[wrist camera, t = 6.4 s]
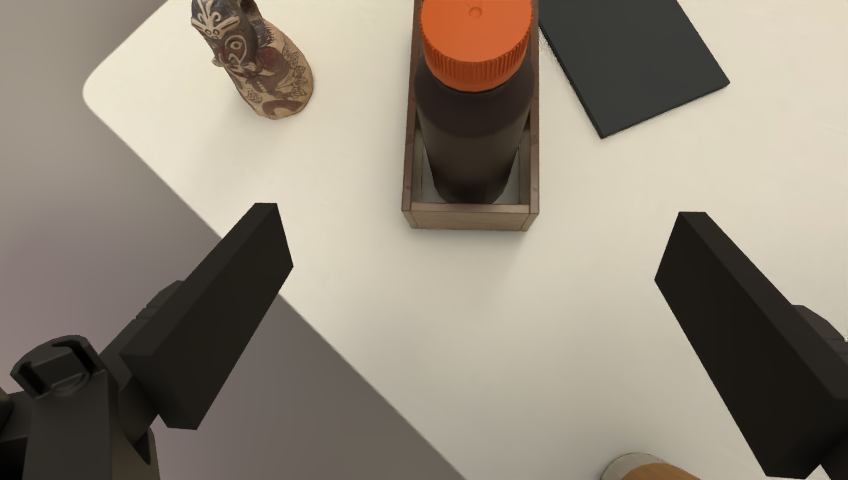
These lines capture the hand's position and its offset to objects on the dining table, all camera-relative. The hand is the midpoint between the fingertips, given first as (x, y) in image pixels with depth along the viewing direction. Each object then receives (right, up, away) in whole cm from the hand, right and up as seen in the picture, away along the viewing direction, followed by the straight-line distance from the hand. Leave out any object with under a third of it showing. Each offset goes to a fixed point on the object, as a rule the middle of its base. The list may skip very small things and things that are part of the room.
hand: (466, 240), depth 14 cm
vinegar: (+3, +6, +23) cm, 24 cm away
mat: (+16, +20, +25) cm, 36 cm away
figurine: (-16, +15, +27) cm, 35 cm away
